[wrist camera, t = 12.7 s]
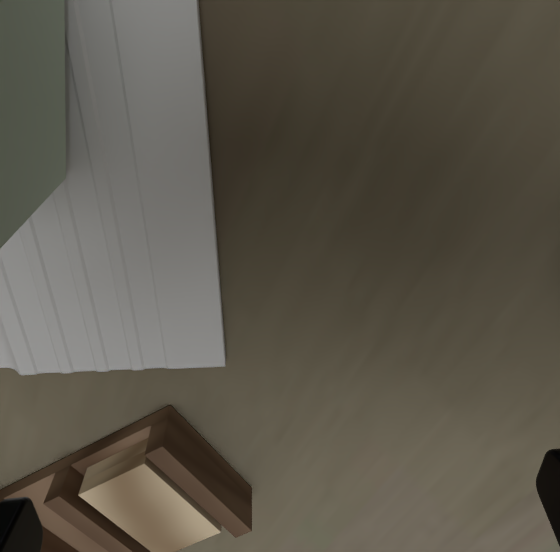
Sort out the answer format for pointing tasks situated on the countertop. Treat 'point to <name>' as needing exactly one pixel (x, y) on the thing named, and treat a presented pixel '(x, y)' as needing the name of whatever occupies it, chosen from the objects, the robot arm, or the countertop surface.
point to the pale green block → (30, 108)
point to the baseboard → (122, 206)
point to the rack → (164, 454)
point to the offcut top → (148, 505)
